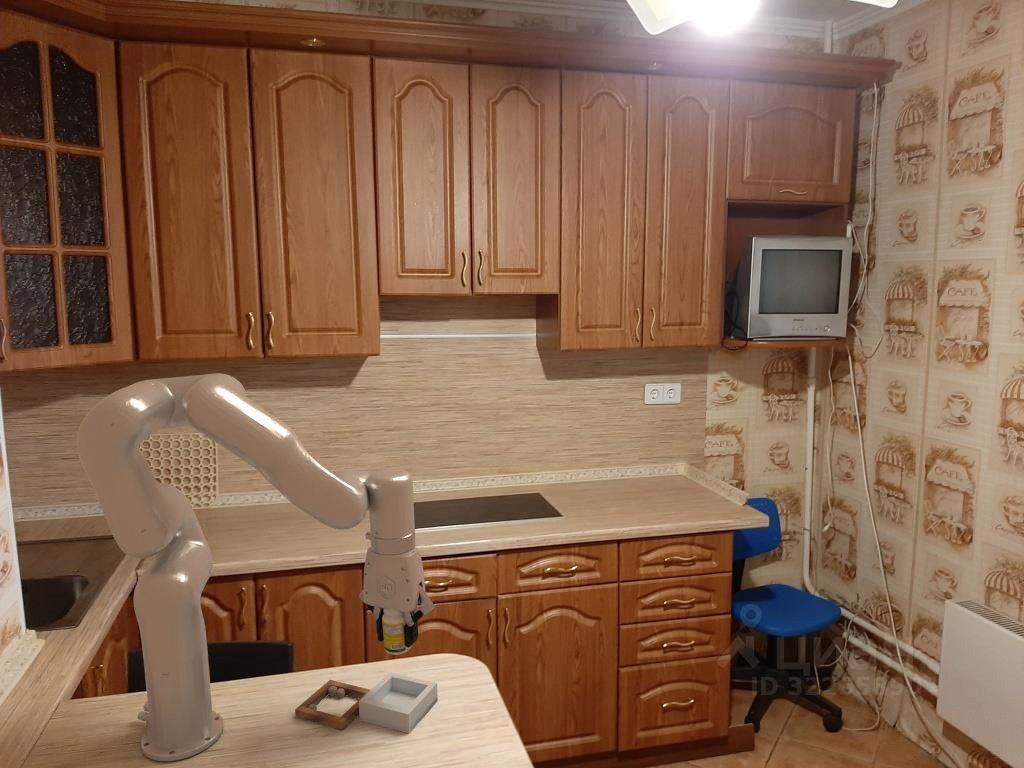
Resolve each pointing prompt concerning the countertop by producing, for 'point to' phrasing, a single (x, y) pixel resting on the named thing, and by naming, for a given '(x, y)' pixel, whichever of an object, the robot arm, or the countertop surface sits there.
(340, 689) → the tray
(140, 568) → the countertop surface
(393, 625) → the supplement bottle
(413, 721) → the grey square open box
